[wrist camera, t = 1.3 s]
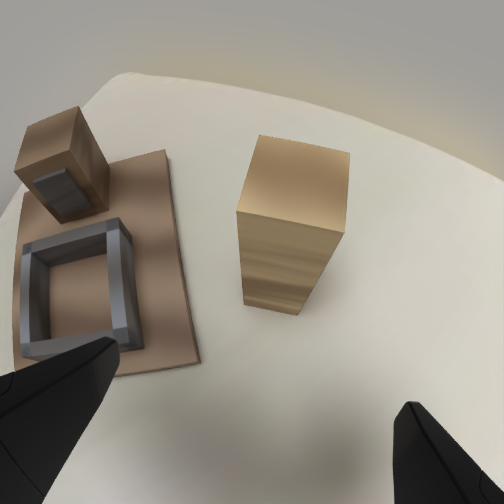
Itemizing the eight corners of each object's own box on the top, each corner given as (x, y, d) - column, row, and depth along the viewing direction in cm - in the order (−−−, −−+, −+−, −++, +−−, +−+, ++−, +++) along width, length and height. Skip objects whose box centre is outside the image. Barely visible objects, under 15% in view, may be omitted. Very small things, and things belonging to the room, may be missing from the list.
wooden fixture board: (200, 363, 22) (166, 345, 13) (26, 384, 20) (-53, 369, 11) (167, 159, 29) (144, 81, 20) (31, 200, 28) (-16, 145, 19)
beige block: (296, 315, 23) (344, 232, 11) (243, 304, 23) (236, 210, 12) (306, 259, 25) (350, 143, 13) (257, 249, 25) (261, 125, 13)
